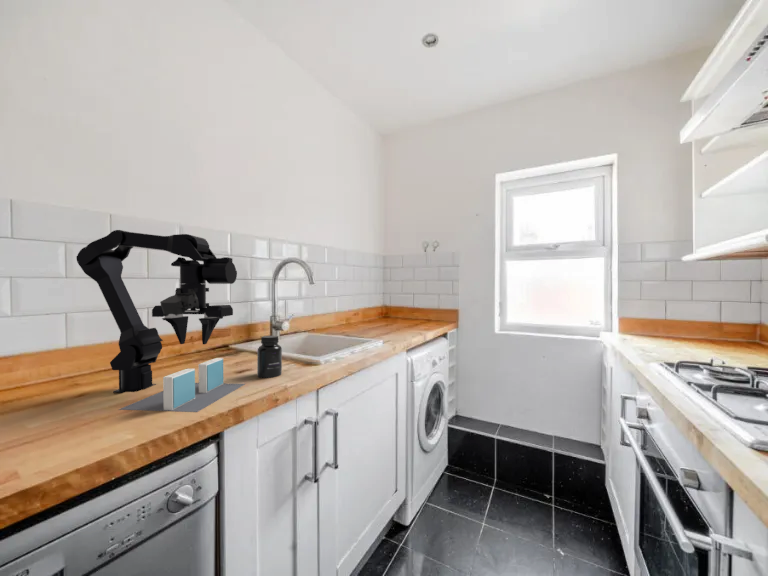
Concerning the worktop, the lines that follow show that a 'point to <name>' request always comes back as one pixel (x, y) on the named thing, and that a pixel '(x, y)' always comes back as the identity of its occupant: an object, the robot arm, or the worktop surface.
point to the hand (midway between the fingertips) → (193, 344)
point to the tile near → (178, 388)
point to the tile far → (210, 375)
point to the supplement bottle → (269, 358)
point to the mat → (194, 405)
